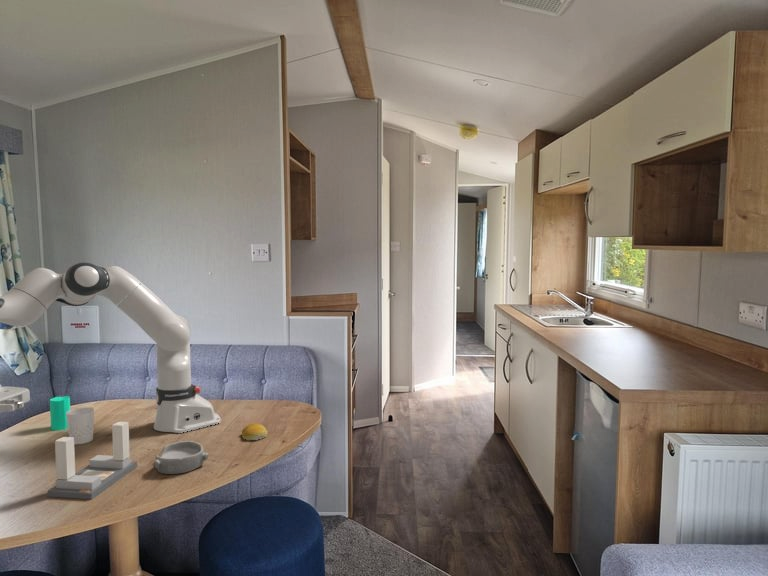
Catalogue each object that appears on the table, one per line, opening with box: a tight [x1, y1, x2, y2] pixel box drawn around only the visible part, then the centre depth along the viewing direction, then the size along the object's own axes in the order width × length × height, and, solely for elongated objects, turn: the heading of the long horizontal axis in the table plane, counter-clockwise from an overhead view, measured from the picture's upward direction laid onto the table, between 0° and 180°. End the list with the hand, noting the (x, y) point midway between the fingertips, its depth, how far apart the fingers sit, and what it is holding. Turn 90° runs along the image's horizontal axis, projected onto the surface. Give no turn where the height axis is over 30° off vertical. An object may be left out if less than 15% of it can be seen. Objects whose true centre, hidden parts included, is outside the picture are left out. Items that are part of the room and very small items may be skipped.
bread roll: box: [241, 423, 268, 441], centre depth 177 cm, size 8×9×4 cm
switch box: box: [47, 454, 138, 500], centre depth 143 cm, size 12×20×4 cm, turn 174°
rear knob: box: [111, 421, 131, 460], centre depth 148 cm, size 3×3×10 cm
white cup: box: [66, 406, 95, 445], centre depth 171 cm, size 8×8×10 cm
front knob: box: [54, 436, 76, 480], centre depth 136 cm, size 3×3×10 cm
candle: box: [49, 395, 71, 431], centre depth 183 cm, size 6×6×12 cm
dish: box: [153, 440, 209, 475], centre depth 153 cm, size 14×14×5 cm
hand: (18, 406), depth 137 cm, fingers closed
